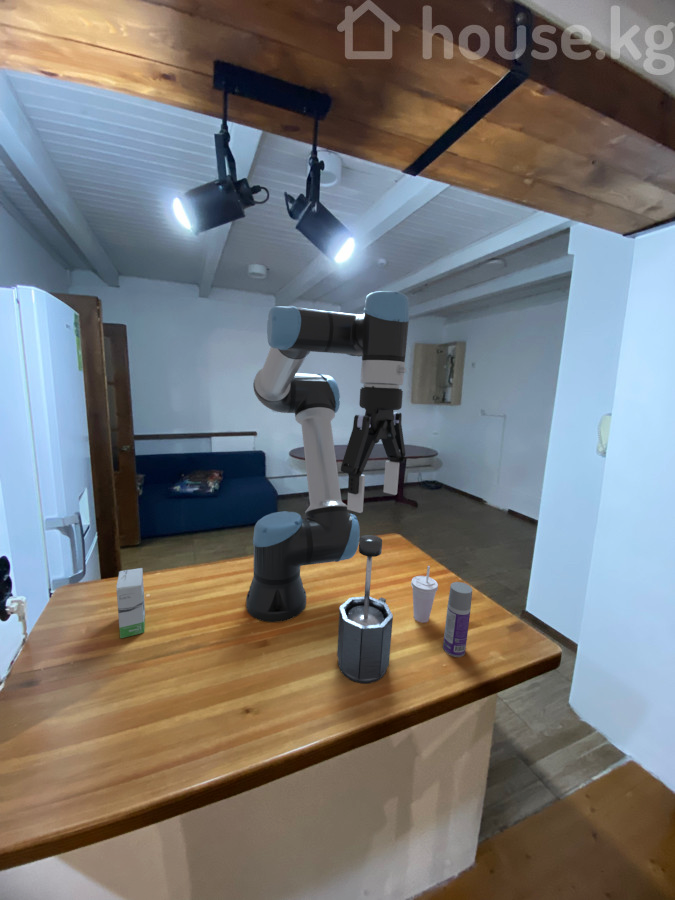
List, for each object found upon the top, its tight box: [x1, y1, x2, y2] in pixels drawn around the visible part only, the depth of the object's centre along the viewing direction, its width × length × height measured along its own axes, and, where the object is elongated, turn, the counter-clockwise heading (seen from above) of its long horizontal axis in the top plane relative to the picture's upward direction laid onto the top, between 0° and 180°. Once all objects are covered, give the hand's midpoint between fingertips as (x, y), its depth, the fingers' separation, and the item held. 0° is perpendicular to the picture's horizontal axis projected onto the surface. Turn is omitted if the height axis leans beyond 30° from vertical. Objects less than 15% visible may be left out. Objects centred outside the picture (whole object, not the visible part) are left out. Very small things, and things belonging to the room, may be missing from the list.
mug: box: [336, 596, 394, 685], centre depth 75 cm, size 10×13×12 cm
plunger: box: [348, 534, 384, 626], centre depth 72 cm, size 7×7×17 cm
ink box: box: [115, 567, 146, 639], centre depth 82 cm, size 9×5×12 cm, turn 27°
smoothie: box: [410, 565, 439, 624], centre depth 89 cm, size 6×6×14 cm
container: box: [442, 581, 473, 658], centre depth 79 cm, size 5×5×15 cm
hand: (373, 501), depth 68 cm, fingers open, 13 cm apart
